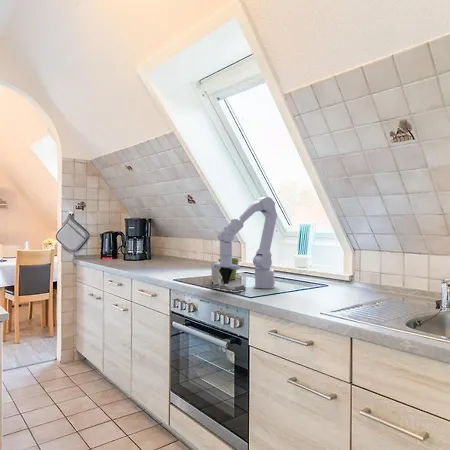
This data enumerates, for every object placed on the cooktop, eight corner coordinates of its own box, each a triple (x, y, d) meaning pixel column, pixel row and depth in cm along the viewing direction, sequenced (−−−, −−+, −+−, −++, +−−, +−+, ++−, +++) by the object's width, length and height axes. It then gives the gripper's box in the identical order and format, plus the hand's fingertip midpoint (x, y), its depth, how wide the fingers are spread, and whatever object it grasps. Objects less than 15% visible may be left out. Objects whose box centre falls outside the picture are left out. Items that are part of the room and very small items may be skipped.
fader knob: (225, 285, 200) (224, 277, 200) (221, 286, 198) (221, 278, 198) (221, 284, 202) (221, 277, 201) (217, 285, 199) (217, 278, 199)
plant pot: (243, 278, 231) (243, 258, 231) (232, 281, 222) (231, 260, 221) (225, 276, 238) (225, 257, 238) (213, 279, 228) (213, 259, 228)
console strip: (245, 290, 196) (245, 284, 196) (235, 292, 190) (235, 287, 190) (222, 287, 205) (222, 281, 205) (211, 289, 198) (211, 284, 198)
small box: (219, 281, 221) (219, 262, 221) (228, 282, 218) (228, 262, 218) (211, 284, 214) (211, 263, 214) (220, 285, 212) (220, 264, 211)
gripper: (208, 255, 199) (209, 283, 199) (233, 256, 190) (233, 286, 190) (218, 253, 205) (218, 281, 205) (242, 255, 196) (242, 284, 196)
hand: (226, 283), depth 198 cm, fingers closed
